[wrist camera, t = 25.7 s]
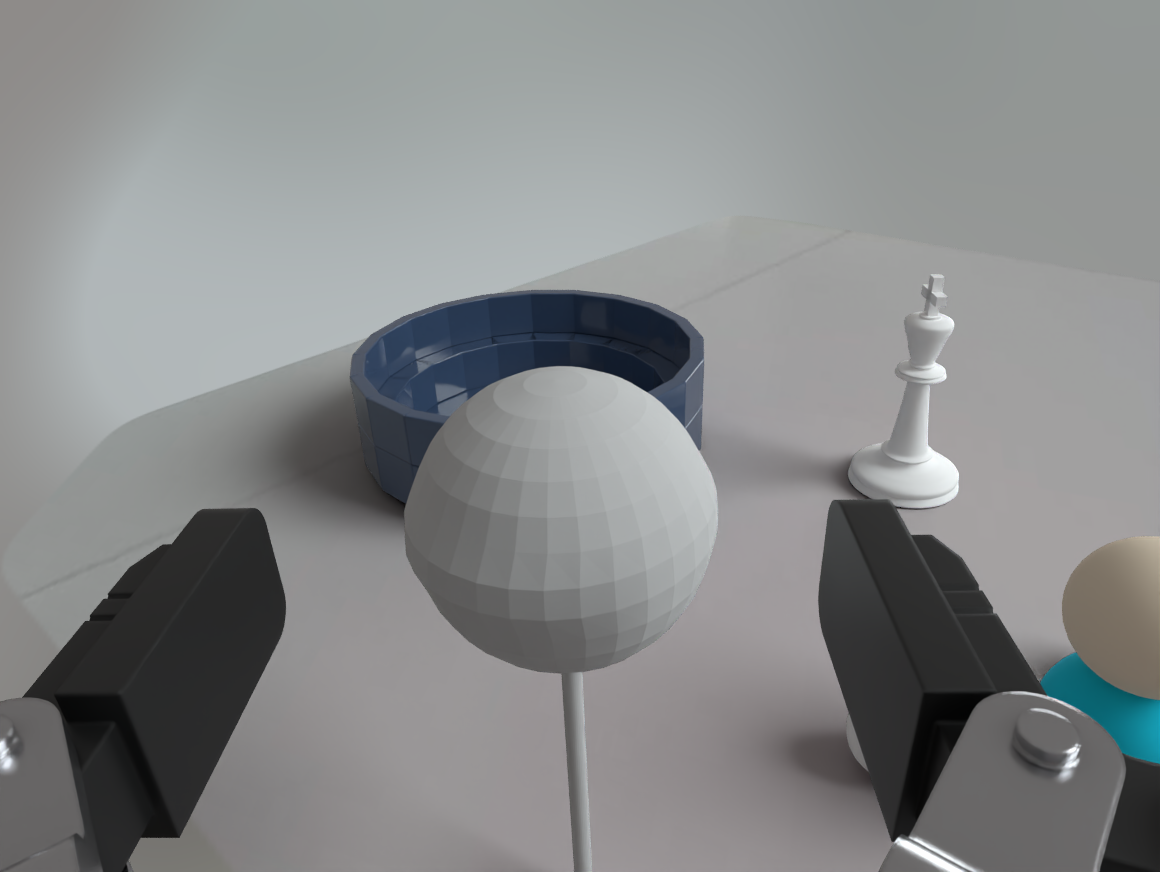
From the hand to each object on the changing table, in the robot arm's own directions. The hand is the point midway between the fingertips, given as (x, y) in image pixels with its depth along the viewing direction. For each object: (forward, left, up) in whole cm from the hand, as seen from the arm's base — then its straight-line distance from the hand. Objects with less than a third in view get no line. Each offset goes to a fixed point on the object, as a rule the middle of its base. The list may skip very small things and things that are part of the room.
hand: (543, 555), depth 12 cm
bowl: (+12, +26, -14) cm, 32 cm away
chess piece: (+25, +13, -14) cm, 32 cm away
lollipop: (+2, +3, -14) cm, 15 cm away
